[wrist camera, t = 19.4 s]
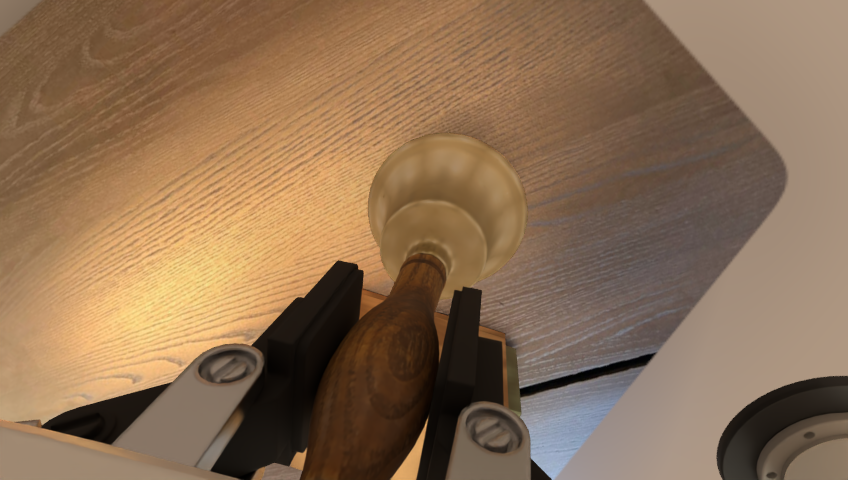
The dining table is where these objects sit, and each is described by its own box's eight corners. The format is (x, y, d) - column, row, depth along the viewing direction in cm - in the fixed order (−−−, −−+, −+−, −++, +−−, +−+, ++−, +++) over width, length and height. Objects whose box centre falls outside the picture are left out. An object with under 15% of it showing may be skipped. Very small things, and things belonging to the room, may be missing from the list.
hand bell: (516, 293, 22) (558, 701, 8) (369, 276, 23) (155, 602, 9) (538, 137, 19) (679, 309, 5) (368, 127, 20) (37, 237, 6)
